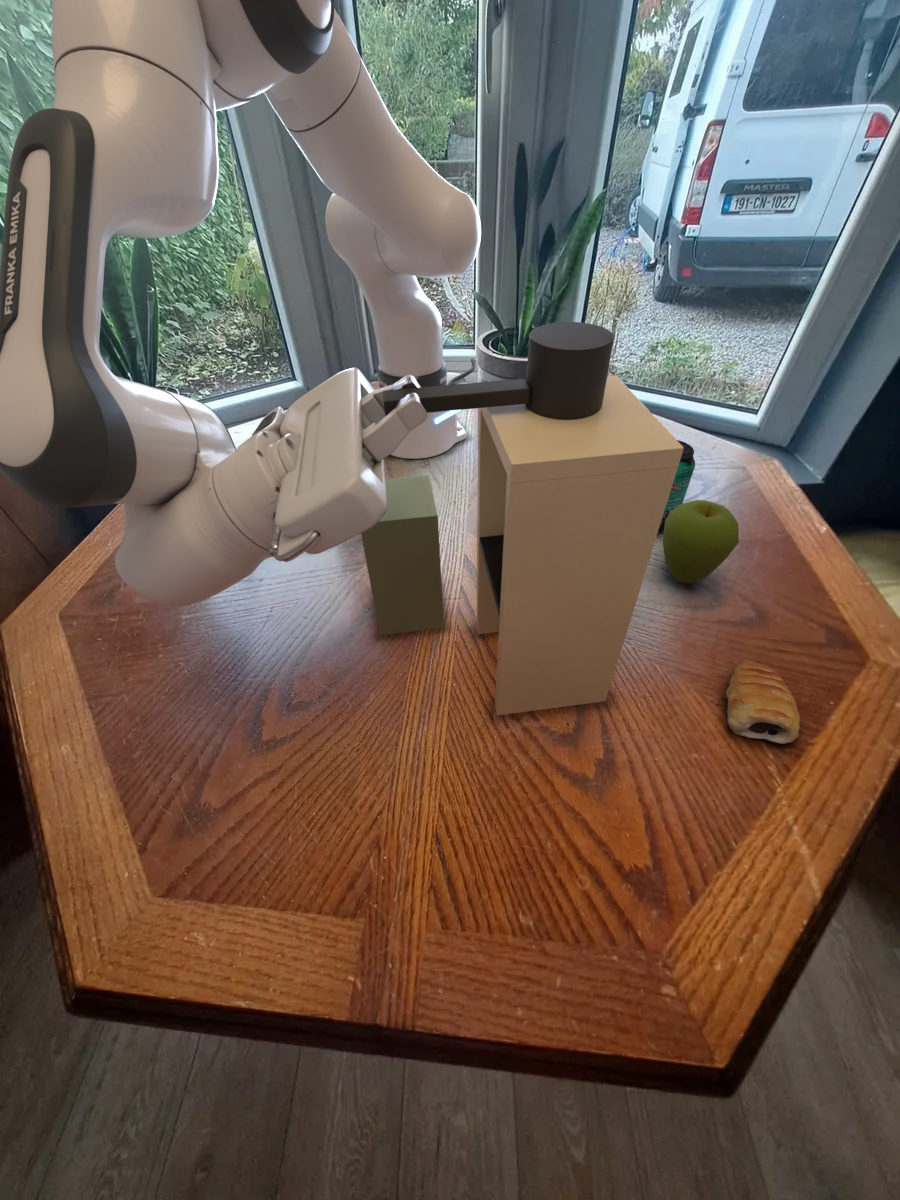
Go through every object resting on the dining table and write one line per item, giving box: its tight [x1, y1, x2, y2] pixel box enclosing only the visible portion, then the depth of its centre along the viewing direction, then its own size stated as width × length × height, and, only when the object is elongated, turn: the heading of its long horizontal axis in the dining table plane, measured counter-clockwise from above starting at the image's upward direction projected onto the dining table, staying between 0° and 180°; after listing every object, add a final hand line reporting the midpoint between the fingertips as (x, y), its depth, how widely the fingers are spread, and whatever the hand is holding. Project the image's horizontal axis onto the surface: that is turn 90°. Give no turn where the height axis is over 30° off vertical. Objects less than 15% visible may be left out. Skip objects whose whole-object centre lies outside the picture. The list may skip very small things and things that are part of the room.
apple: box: [662, 499, 740, 584], centre depth 66 cm, size 9×8×12 cm
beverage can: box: [658, 439, 696, 533], centre depth 75 cm, size 7×7×12 cm
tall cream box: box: [476, 374, 684, 716], centre depth 50 cm, size 13×12×30 cm
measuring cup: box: [383, 321, 615, 420], centre depth 39 cm, size 6×17×5 cm, turn 97°
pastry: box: [725, 660, 801, 745], centre depth 54 cm, size 9×7×4 cm
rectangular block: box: [360, 474, 445, 636], centre depth 61 cm, size 8×8×17 cm
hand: (420, 394), depth 39 cm, fingers closed on measuring cup
